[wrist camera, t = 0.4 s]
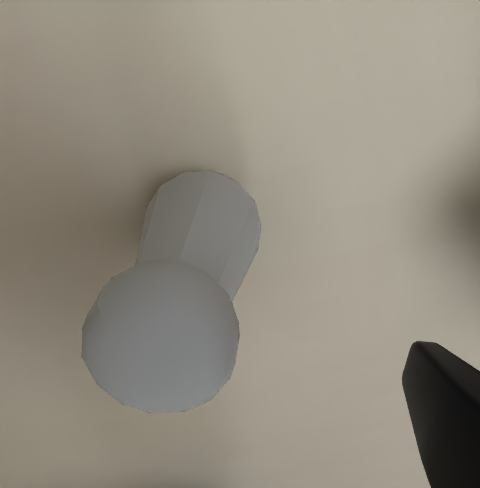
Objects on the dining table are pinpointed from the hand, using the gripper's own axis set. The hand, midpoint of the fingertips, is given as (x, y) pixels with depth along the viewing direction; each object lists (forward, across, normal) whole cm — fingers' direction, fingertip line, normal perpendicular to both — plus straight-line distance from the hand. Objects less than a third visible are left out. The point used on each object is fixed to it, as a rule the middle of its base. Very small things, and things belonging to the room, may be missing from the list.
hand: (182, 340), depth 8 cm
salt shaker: (+15, +1, +3) cm, 15 cm away
